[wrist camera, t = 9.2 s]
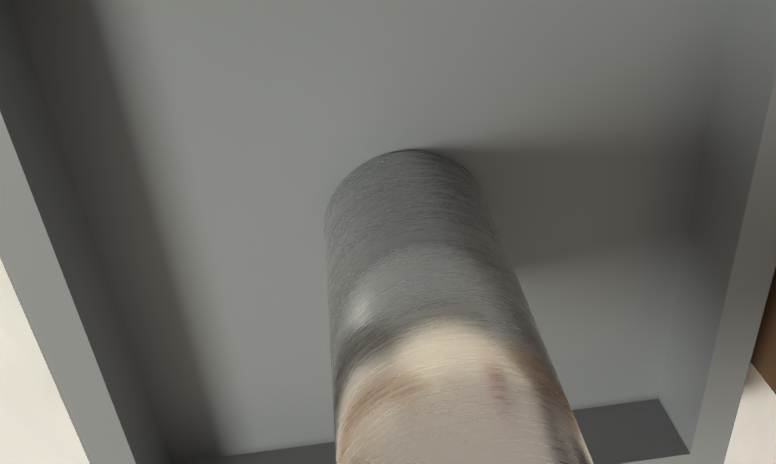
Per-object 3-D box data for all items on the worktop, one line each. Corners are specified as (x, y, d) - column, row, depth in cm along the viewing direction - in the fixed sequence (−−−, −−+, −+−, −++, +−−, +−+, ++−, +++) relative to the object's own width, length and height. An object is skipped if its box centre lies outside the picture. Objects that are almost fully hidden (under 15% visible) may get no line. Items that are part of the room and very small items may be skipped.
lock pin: (487, 142, 13) (697, 583, 6) (486, 279, 14) (649, 744, 8) (314, 161, 12) (330, 635, 6) (333, 297, 14) (363, 786, 7)
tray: (795, -209, 11) (899, -205, 9) (675, 400, 18) (720, 474, 16) (-77, -131, 10) (-160, -110, 8) (148, 471, 17) (130, 556, 15)
